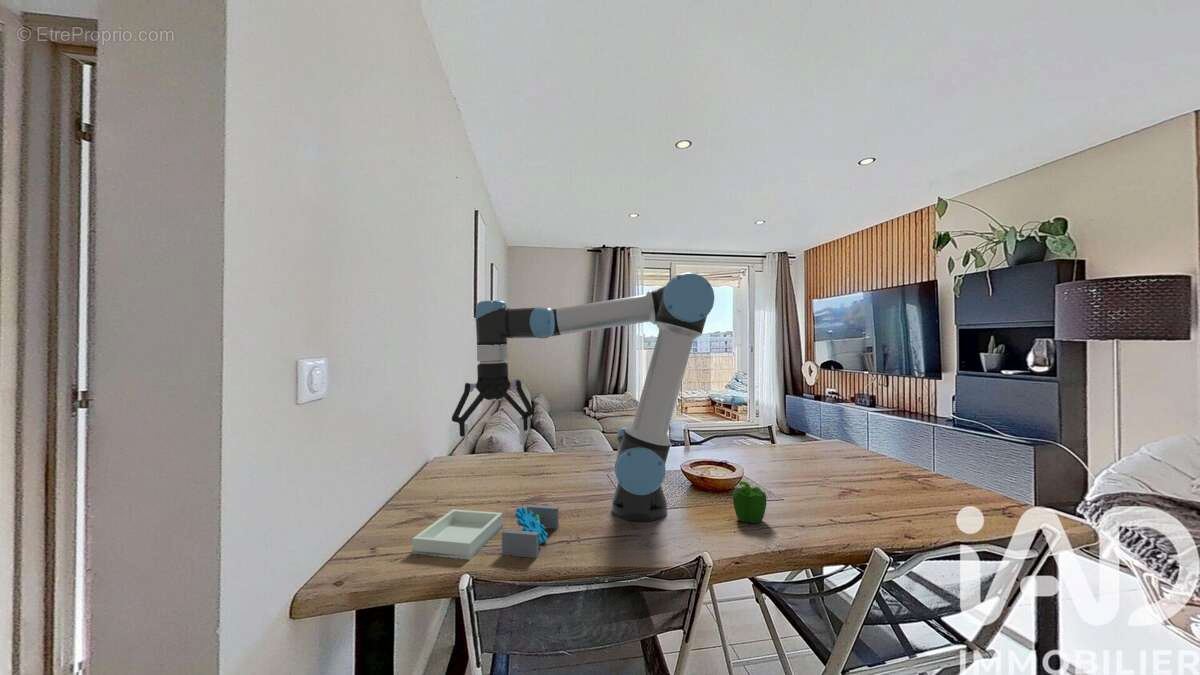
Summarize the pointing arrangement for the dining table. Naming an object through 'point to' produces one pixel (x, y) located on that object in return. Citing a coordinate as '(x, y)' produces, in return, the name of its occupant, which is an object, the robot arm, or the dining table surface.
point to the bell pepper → (749, 503)
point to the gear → (531, 523)
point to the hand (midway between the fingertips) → (494, 446)
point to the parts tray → (458, 534)
